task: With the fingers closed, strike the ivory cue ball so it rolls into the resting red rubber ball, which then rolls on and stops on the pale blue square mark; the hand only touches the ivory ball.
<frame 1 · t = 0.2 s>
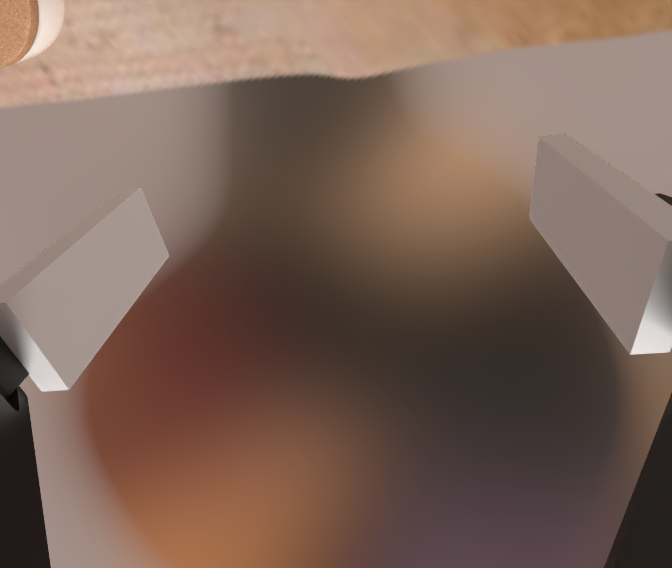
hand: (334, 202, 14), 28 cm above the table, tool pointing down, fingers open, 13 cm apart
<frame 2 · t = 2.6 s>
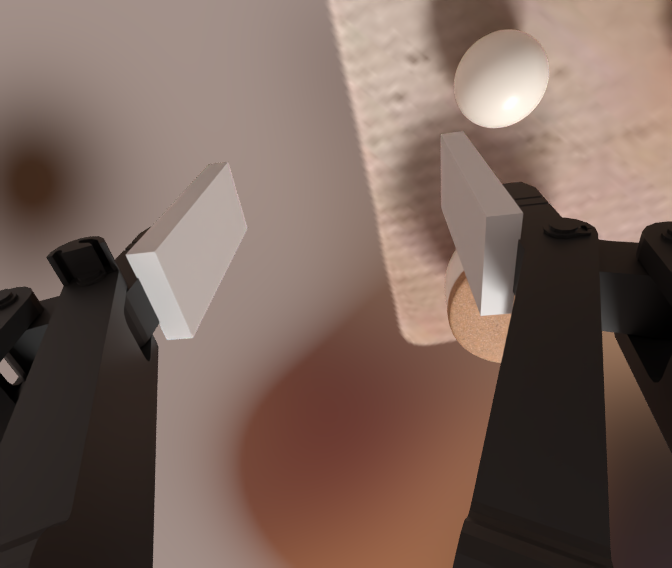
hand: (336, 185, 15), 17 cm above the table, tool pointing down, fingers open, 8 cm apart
cue ball: (499, 81, 26), on the table
lidded jar: (496, 254, 36), on the table
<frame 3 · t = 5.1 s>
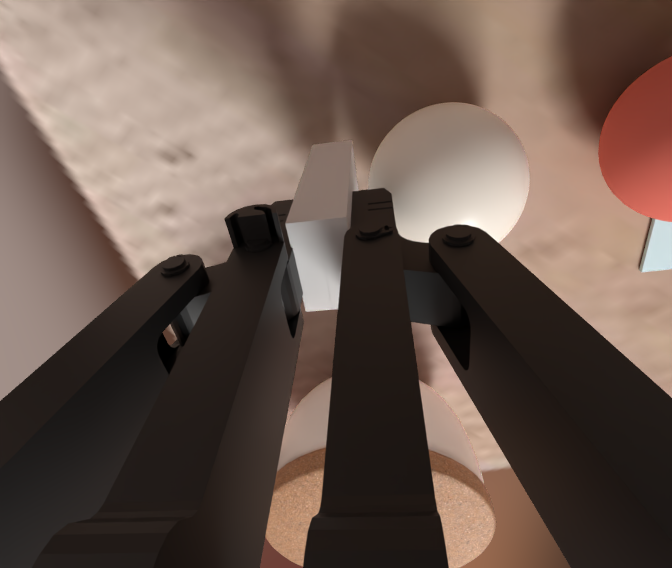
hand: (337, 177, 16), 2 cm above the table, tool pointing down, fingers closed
cue ball: (445, 185, 15), on the table
lidded jar: (371, 397, 26), on the table
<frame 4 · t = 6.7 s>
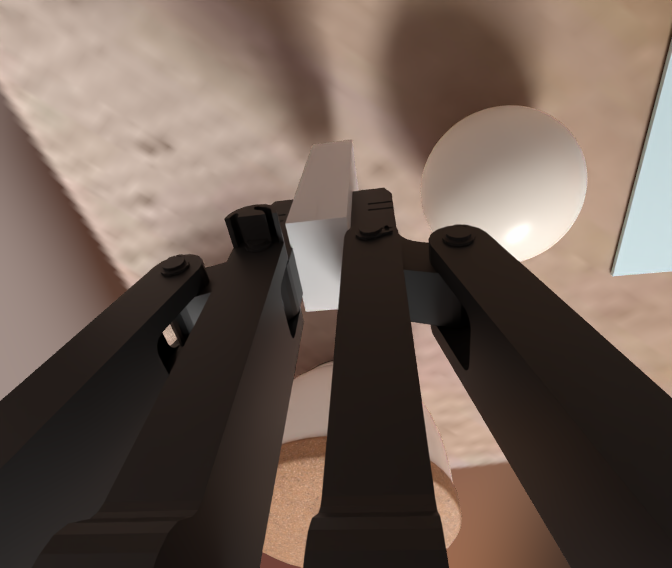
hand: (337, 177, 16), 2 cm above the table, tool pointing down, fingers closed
cue ball: (498, 188, 15), on the table
lidded jar: (349, 392, 26), on the table
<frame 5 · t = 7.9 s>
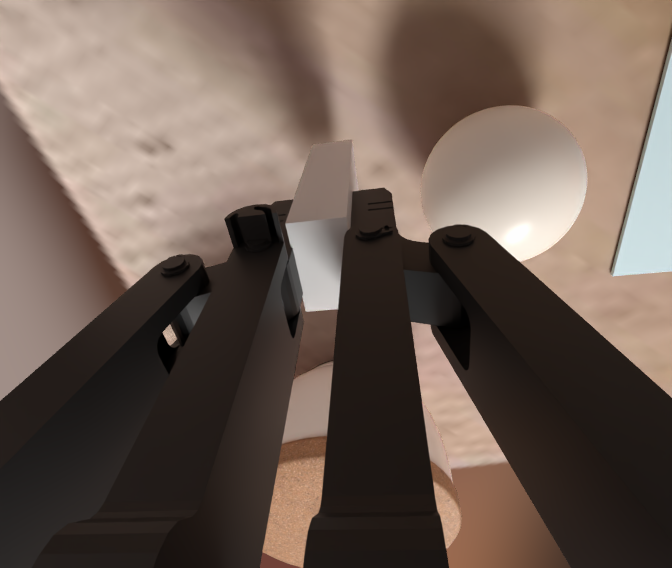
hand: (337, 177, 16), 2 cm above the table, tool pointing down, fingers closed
cue ball: (498, 188, 15), on the table
lidded jar: (349, 392, 26), on the table
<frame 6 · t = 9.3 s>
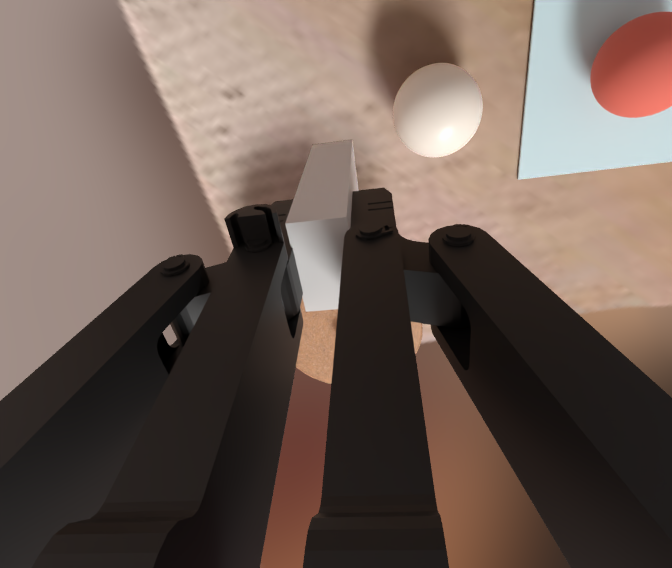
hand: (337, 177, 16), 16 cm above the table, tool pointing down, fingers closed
cue ball: (436, 111, 27), on the table
red ball: (645, 67, 25), on the table
lidded jar: (350, 277, 37), on the table
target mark: (641, 59, 27), on the table
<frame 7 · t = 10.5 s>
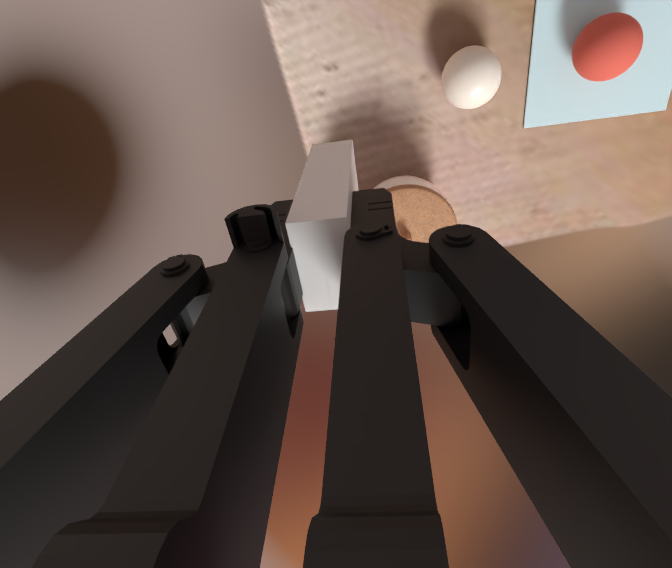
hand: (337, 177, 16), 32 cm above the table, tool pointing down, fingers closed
cue ball: (470, 78, 41), on the table
red ball: (606, 48, 39), on the table
lidded jar: (400, 205, 51), on the table
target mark: (606, 43, 41), on the table
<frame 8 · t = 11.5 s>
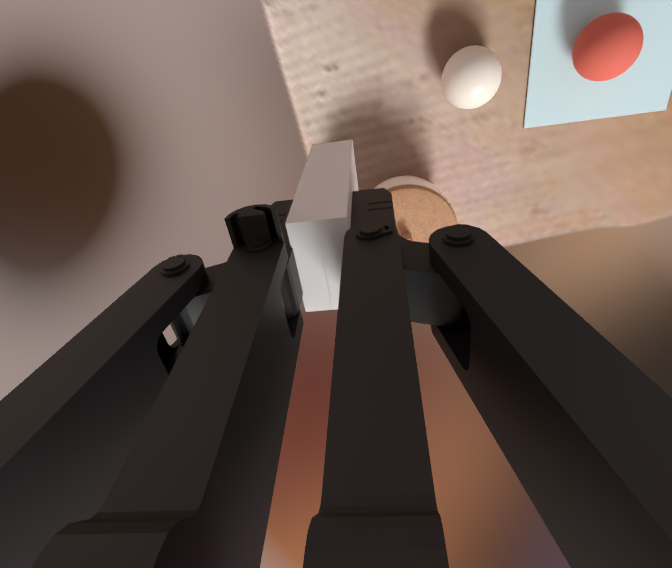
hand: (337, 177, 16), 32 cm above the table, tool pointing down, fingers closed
cue ball: (470, 78, 40), on the table
red ball: (606, 48, 39), on the table
lidded jar: (401, 205, 51), on the table
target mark: (606, 43, 41), on the table
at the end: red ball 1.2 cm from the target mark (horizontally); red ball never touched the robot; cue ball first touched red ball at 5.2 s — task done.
